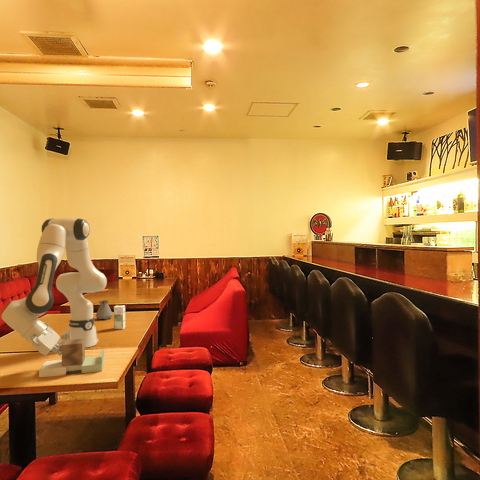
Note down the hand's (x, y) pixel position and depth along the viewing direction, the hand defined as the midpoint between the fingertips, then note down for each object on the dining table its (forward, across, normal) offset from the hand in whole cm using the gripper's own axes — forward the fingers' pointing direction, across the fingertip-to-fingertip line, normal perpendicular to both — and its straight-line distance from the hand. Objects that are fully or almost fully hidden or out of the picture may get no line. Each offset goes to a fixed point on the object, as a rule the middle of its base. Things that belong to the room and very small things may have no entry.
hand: (61, 353), depth 158 cm
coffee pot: (+12, +104, -1) cm, 105 cm away
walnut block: (+6, 0, 0) cm, 6 cm away
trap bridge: (+8, 0, +2) cm, 9 cm away
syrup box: (+20, +74, -9) cm, 77 cm away
